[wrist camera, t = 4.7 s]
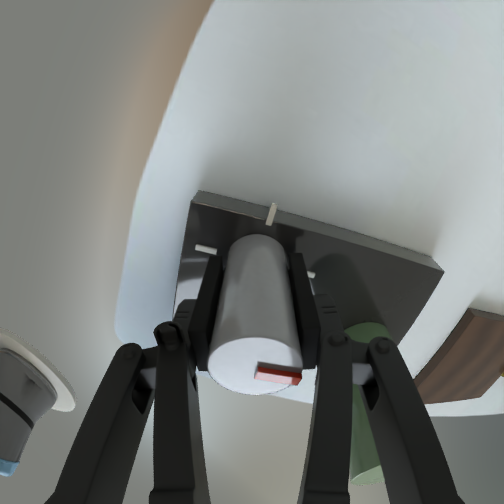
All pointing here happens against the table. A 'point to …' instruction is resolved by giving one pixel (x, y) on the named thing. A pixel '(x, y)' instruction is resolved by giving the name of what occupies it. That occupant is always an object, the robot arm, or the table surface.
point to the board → (465, 360)
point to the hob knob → (255, 321)
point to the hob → (314, 260)
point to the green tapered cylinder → (364, 419)
